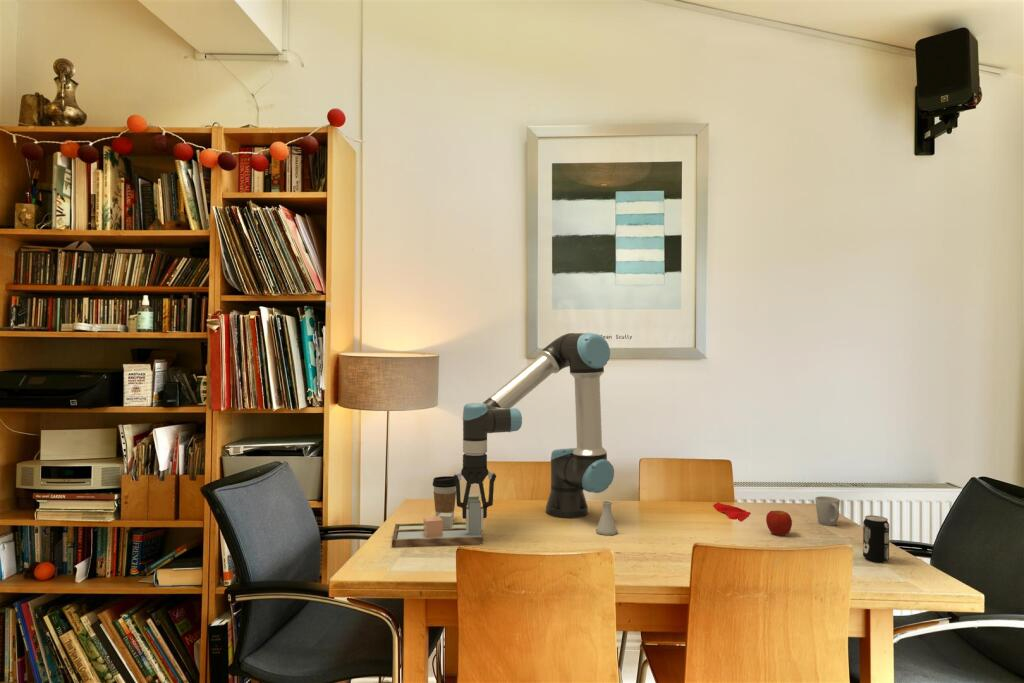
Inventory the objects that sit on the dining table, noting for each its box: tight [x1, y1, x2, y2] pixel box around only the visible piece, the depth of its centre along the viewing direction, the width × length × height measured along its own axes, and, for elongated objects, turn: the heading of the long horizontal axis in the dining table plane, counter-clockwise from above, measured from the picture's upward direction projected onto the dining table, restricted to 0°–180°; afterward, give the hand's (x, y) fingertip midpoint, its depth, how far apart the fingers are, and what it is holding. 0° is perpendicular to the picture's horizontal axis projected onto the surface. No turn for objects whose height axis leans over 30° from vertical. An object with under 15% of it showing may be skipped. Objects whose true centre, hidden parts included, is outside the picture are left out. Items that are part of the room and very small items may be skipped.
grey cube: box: [438, 513, 454, 528], centre depth 218 cm, size 4×4×4 cm
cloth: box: [713, 501, 752, 522], centre depth 247 cm, size 26×14×2 cm, turn 170°
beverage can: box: [862, 514, 890, 564], centre depth 194 cm, size 7×7×12 cm
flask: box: [595, 500, 619, 536], centre depth 220 cm, size 7×7×10 cm
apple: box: [765, 510, 793, 536], centre depth 219 cm, size 8×8×8 cm
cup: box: [815, 495, 841, 527], centre depth 231 cm, size 8×10×8 cm
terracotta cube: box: [423, 515, 443, 538], centre depth 209 cm, size 5×5×5 cm
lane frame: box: [391, 521, 484, 549], centre depth 213 cm, size 27×18×2 cm, turn 97°
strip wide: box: [397, 499, 483, 539], centre depth 210 cm, size 26×8×12 cm, turn 97°
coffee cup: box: [432, 475, 456, 519], centre depth 233 cm, size 8×8×15 cm
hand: (474, 528), depth 211 cm, fingers open, 4 cm apart
